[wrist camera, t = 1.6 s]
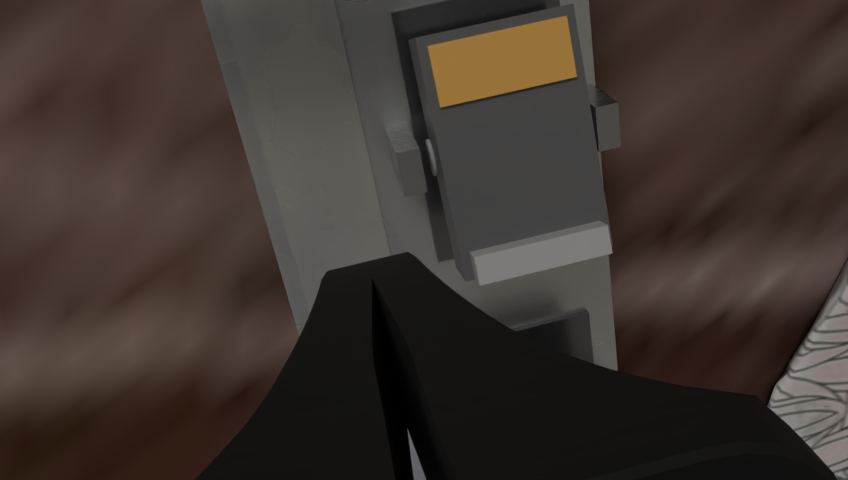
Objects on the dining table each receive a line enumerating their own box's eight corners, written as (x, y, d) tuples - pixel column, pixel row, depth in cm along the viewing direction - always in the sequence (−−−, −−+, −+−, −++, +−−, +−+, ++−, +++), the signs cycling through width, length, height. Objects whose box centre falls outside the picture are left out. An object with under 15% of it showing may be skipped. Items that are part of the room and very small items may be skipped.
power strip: (588, 437, 28) (650, 552, 23) (359, 497, 27) (377, 627, 22) (482, -578, 16) (569, -750, 11) (71, -514, 15) (-9, -669, 11)
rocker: (589, 230, 19) (624, 250, 16) (450, 263, 18) (467, 288, 16) (551, 9, 18) (584, 0, 15) (403, 41, 17) (415, 37, 15)
